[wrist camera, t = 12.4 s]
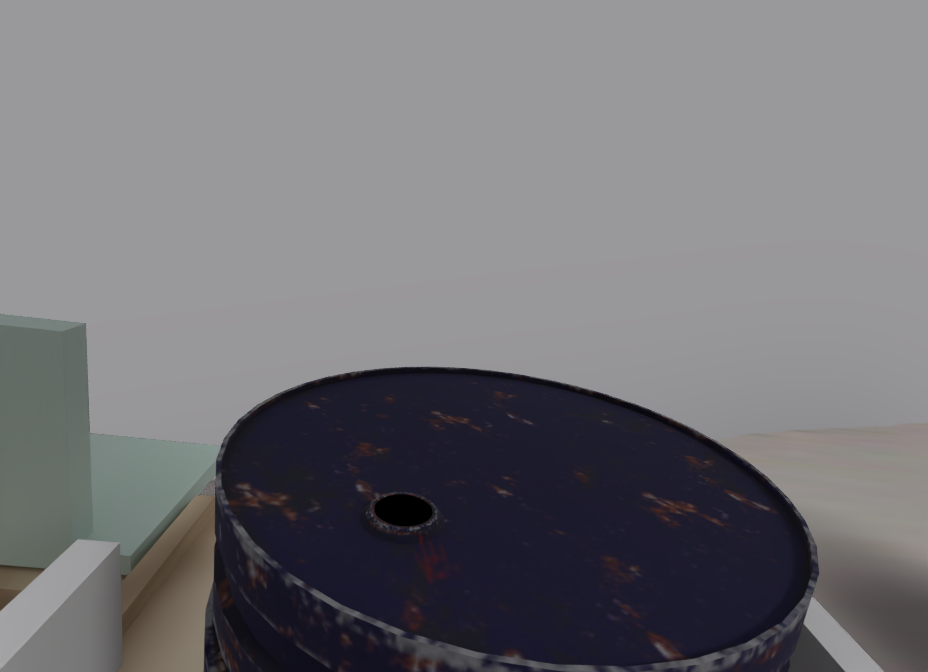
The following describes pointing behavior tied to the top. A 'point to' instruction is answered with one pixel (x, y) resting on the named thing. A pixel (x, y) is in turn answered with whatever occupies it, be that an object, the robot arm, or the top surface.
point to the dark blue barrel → (494, 534)
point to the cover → (78, 457)
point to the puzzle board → (158, 594)
